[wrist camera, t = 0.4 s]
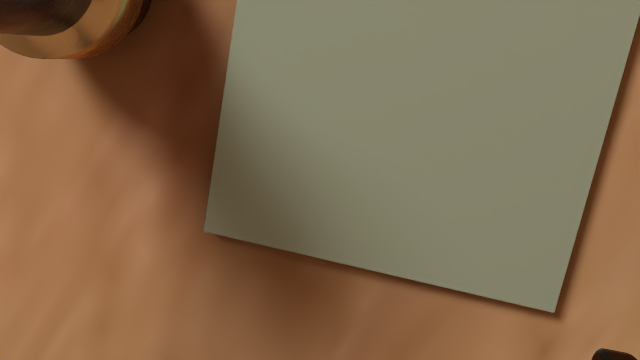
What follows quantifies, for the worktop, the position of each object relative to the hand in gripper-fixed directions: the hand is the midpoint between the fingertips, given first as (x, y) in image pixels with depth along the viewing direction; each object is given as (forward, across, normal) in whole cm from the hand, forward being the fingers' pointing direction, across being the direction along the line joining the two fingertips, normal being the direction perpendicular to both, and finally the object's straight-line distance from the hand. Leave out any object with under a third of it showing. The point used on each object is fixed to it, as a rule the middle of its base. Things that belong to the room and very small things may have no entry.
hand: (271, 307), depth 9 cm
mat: (+14, -1, +1) cm, 14 cm away
